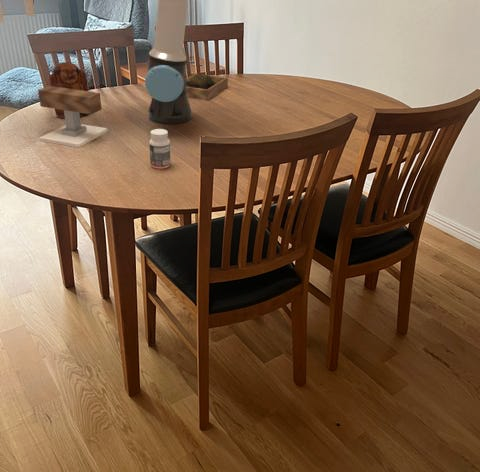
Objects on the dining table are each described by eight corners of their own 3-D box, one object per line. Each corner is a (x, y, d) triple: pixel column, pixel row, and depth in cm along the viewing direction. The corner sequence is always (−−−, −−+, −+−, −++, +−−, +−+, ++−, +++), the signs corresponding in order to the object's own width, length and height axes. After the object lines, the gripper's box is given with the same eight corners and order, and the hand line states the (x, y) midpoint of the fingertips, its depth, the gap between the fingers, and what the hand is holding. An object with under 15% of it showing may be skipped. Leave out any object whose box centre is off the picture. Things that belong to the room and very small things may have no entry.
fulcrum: (107, 131, 166) (105, 104, 161) (79, 147, 153) (75, 118, 148) (70, 125, 169) (67, 98, 165) (40, 140, 156) (35, 112, 151)
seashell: (206, 83, 221) (209, 68, 216) (220, 92, 217) (224, 77, 212) (178, 89, 210) (180, 73, 205) (192, 99, 206) (195, 83, 202)
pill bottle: (151, 161, 146) (149, 127, 141) (171, 161, 146) (170, 128, 141) (149, 169, 141) (147, 135, 136) (170, 169, 142) (169, 135, 136)
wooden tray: (227, 87, 218) (227, 77, 216) (208, 100, 200) (208, 90, 198) (195, 83, 222) (195, 73, 220) (173, 95, 204) (173, 85, 202)
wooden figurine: (62, 121, 172) (54, 66, 163) (53, 116, 176) (45, 63, 167) (93, 114, 180) (87, 62, 170) (84, 110, 183) (78, 58, 174)
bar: (101, 109, 156) (99, 93, 154) (91, 114, 152) (89, 97, 149) (51, 101, 161) (49, 85, 158) (40, 106, 156) (37, 90, 154)
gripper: (20, -66, 150) (32, 12, 161) (-46, -67, 129) (-27, 22, 140) (42, -64, 148) (52, 14, 159) (-22, -65, 128) (-4, 25, 139)
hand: (15, 18), depth 150 cm, fingers open, 13 cm apart
